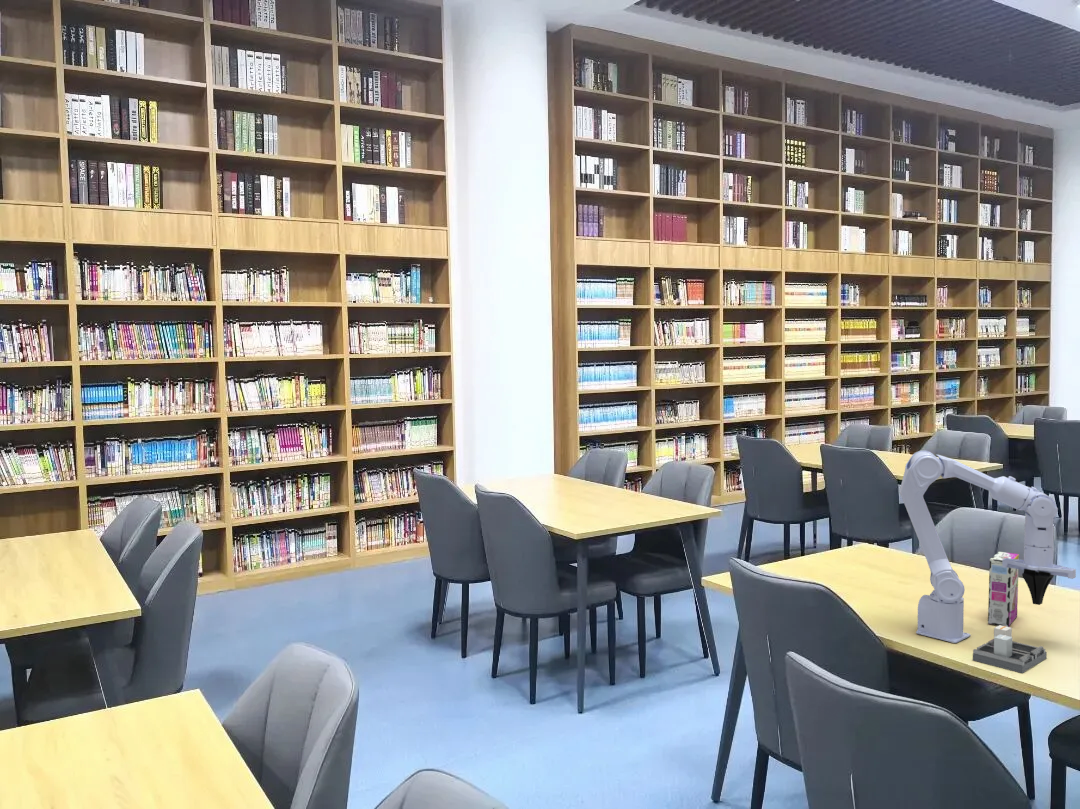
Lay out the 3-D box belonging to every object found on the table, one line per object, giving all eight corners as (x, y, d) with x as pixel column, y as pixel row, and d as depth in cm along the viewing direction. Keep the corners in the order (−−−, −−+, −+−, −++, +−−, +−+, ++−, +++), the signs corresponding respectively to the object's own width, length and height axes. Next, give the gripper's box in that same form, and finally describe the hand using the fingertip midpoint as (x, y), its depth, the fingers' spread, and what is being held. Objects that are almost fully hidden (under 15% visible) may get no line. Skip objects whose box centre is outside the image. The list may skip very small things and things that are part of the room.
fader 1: (993, 645, 184) (994, 627, 184) (999, 642, 186) (999, 624, 186) (1005, 648, 182) (1006, 630, 182) (1011, 645, 184) (1011, 627, 184)
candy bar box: (1010, 628, 201) (1011, 561, 200) (987, 624, 204) (988, 559, 203) (1018, 617, 209) (1019, 553, 208) (996, 613, 212) (997, 550, 211)
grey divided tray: (972, 660, 180) (972, 648, 180) (998, 646, 188) (998, 635, 188) (1022, 673, 172) (1022, 660, 172) (1046, 658, 180) (1046, 646, 180)
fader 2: (993, 655, 178) (994, 636, 178) (999, 652, 180) (1000, 633, 180) (1006, 658, 176) (1006, 639, 176) (1012, 655, 178) (1012, 636, 178)
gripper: (997, 542, 191) (996, 600, 192) (1068, 553, 180) (1067, 614, 181) (1009, 538, 196) (1008, 594, 197) (1079, 547, 185) (1078, 607, 186)
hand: (1037, 603), depth 189 cm, fingers closed
